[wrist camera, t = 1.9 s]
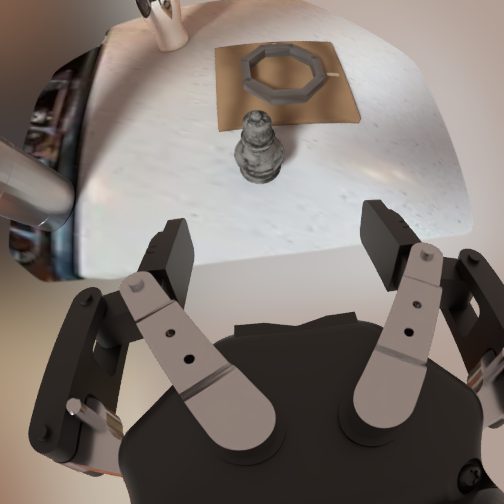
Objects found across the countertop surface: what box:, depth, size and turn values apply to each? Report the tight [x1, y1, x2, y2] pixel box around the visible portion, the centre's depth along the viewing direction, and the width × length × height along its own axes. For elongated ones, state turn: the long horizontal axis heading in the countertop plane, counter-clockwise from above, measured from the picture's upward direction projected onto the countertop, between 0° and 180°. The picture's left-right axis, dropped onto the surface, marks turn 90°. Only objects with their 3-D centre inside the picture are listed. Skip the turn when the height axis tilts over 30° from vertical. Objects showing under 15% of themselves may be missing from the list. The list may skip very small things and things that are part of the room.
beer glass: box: [135, 0, 189, 52], centre depth 33 cm, size 7×7×15 cm
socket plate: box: [215, 41, 360, 132], centre depth 36 cm, size 20×18×3 cm
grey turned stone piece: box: [234, 110, 284, 184], centre depth 29 cm, size 6×6×12 cm
